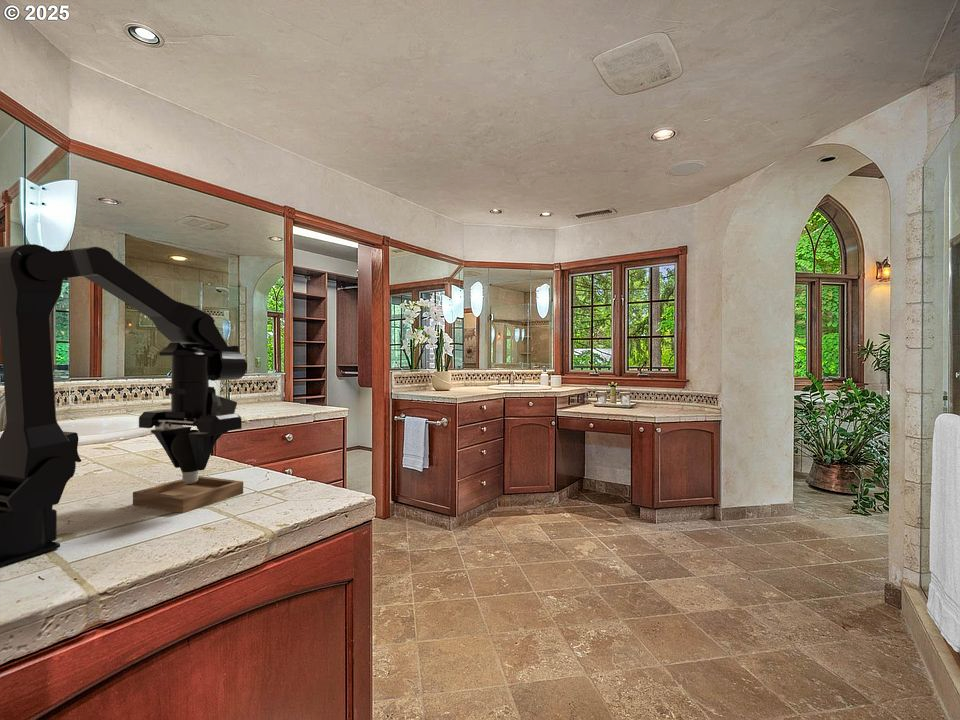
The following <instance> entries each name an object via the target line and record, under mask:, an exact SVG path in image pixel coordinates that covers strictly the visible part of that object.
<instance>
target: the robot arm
mask: <svg viewBox="0 0 960 720" xmlns="http://www.w3.org/2000/svg"><path fill="white" fill-rule="evenodd" d="M77 277H84V278H85V279H87V280H89V281H90V282H92V283H94V284H95V285H96V286H97V287H100V288H101V289H103V290H104V291H106V292H108V293H110V294H111V295H112V296H114V297H115V298H117V299H119V300H120V301H122V302H124V303H126V304H127V305H129V306H130V307H131V308H133V309H134V310H136V311H138V312H139V313H141V314H143V315H144V316H146V317H147V318H148V319H149V320H151V321H152V323H153V324H154V327H156V330H157V331H158V332H160V333H161V334H162V335H163V336H164V337H165V338H167V340H168V341H170V342H169V344H168V345H167V346H166V347H164V348H162V349H161V350H160V351H159V353H158V355H159V356H160V357H171V371H170V372H171V373H170V374H171V375H170V376H171V378H170V379H171V380H170V381H171V384H170V385H171V386H170V387H165V388H164V389H165V391H164V393H165V395H167V394H168V395H169V394H170V396H171V397H170V399H171V400H170V401H171V402H170V407H171V408H170V409H157V410H150V411H144V412H142V413H141V414H140V415H139V417H138V428H141V429H151V430H150V433H151V434H153V435H154V436H155V438H156V439H157V440H158V442H159V444H160V445H161V446H162V448H163V450H164V451H165V453H166V454H167V457H168V458H169V460H170V461H171V463H172V465H173V467H174V468H175V469H178V468H180V464H179V462H178V461H177V459H176V458H175V457H174V456H173V454H172V452H171V444H172V441H173V439H174V438H175V437H176V436H177V435H178V434H179V433H181V432H183V431H186V430H192V427H196V428H197V429H196V430H198V432H195V433H189V434H188V435H189V439H190V443H191V447H192V451H193V455H194V459H195V463H196V466H197V469H198V470H199V471H204V470H205V469H206V468H207V464H208V462H209V459H210V457H211V454H212V452H213V449H214V447H215V445H216V443H217V441H218V439H219V438H221V437H222V435H224V434H228V433H229V432H230V431H235V430H242V426H243V425H242V422H243V421H242V419H243V418H242V417H241V415H239V413H236V408H237V405H238V402H237V401H234V400H232V399H229V398H226V397H223V396H219V395H217V394H216V388H215V386H209V384H210V382H209V381H211V382H212V381H232V380H233V381H234V380H240V379H242V378H243V377H244V376H245V375H246V373H247V370H248V362H247V360H246V358H245V355H244V354H243V353H242V352H240V347H239V345H228V344H227V343H226V340H225V339H224V338H223V336H222V334H221V332H220V331H219V329H218V328H217V326H216V324H215V323H216V322H215V318H214V317H213V316H212V315H211V314H209V313H208V312H206V311H204V310H202V309H200V308H198V307H195V306H193V305H190V304H187V303H184V302H180V301H178V300H176V299H174V298H172V297H171V296H169V295H168V294H167V293H165V292H164V291H163V290H161V289H160V288H158V287H156V286H155V285H154V284H152V283H151V282H149V281H148V280H147V279H145V278H144V277H142V276H141V275H139V274H138V273H137V272H135V271H134V270H133V269H131V268H129V267H128V266H126V265H125V264H123V263H122V262H121V261H119V260H118V259H116V258H115V257H114V255H113V254H112V253H111V252H110V251H109V250H107V249H105V248H103V247H100V246H88V247H78V248H74V249H68V250H66V249H65V250H53V251H52V250H50V249H49V248H47V247H45V246H43V245H39V244H34V243H33V244H31V243H30V244H29V243H27V244H17V245H8V246H0V343H1V358H2V359H1V361H2V374H3V375H2V376H3V386H4V387H3V390H4V401H5V403H4V404H5V405H4V406H5V417H6V424H5V427H4V430H3V432H2V434H1V436H0V567H2V566H6V565H8V564H12V563H15V562H18V561H22V560H23V559H28V558H30V557H34V556H37V555H40V554H43V553H47V552H49V551H52V550H55V549H59V548H60V547H61V542H56V540H57V538H58V537H57V530H58V529H57V526H58V525H57V522H58V520H57V519H58V518H57V517H58V514H57V510H56V509H54V508H53V507H54V506H55V505H58V504H59V503H60V501H61V499H62V495H63V493H64V491H65V488H66V485H67V483H68V482H69V480H71V479H72V478H73V477H74V476H75V473H76V468H77V467H76V466H77V464H76V463H81V462H82V459H81V457H80V455H79V452H78V451H79V450H78V445H79V435H78V433H77V432H73V431H64V430H63V429H62V428H61V426H60V425H59V423H58V421H57V413H56V411H57V410H56V394H55V392H56V391H55V380H54V376H55V375H54V363H53V349H52V348H53V345H52V344H53V343H52V331H51V328H52V327H51V314H52V312H53V310H54V308H55V306H56V304H57V303H58V301H59V299H60V297H61V295H62V289H63V282H64V279H68V278H69V279H70V278H77ZM153 427H154V429H152V428H153ZM199 471H198V472H199Z"/></svg>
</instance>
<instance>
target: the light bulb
mask: <svg viewBox="0 0 960 720" xmlns="http://www.w3.org/2000/svg"><path fill="white" fill-rule="evenodd" d="M195 432H198V429H190V430H186V431H183V432H181V433H179V434H178V435H177V436H176V437H175V438H174V439H173V441H172V444H171V452H172V454H173V456H174V457H175V458H176V459H177V461H178V462H179V464H180V467H179V468H180V471H181V473H182V478H181V480H182V479H183V480H182V481H183V483H185V484H187V485H188V486H191V485H193V484H194V483H195V482H197V481H198V476H199V470H198V469H197V466H196V463H195V459H194V455H193V451H192V447H191V443H190V439H189V435H188V434H189V433H195Z"/></svg>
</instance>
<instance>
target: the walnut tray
mask: <svg viewBox="0 0 960 720" xmlns="http://www.w3.org/2000/svg"><path fill="white" fill-rule="evenodd" d="M182 480H183V479H182V478H181V479H179V480H174V481H172V482H171V481H170V482H166V483H163V484H159V485H155V486H151V487H147V488H143V489H139V490H136V491H132V506H138V507H142V508H143V507H144V508H150V509H155V510H156V509H157V510H162V511H169V512H175V513H180V514H184V513H188V512H190V511H193V510H196V509H199V508H203V507H206V506H209V505H212V504H214V503H218V502H221V501H225V500H226V499H230V498H233V497H235V496H236V497H237V496H238V495H242V494H244V481H242V480H235V479H227V478H218V477H209V476H200V475H198V481H197V482H195V483H194V484H193V485H191V486H188V485H187V484H185V483H183V481H182Z"/></svg>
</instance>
